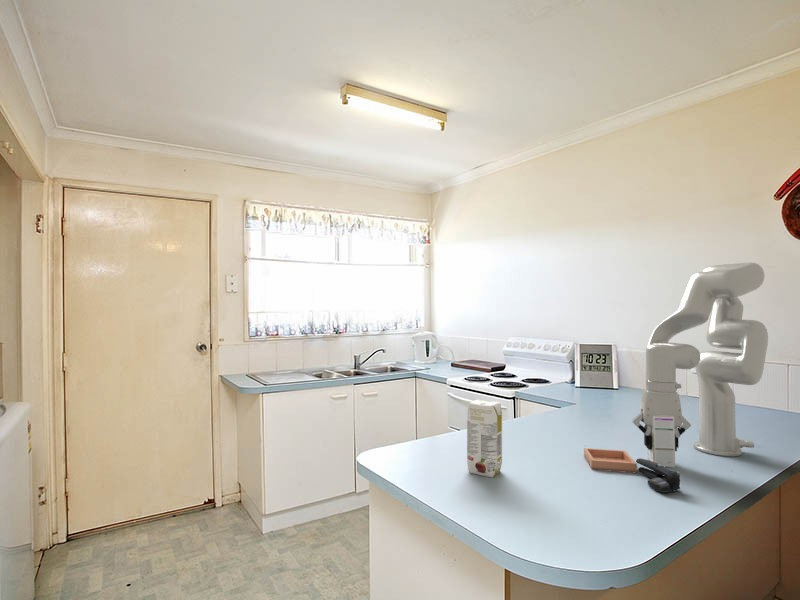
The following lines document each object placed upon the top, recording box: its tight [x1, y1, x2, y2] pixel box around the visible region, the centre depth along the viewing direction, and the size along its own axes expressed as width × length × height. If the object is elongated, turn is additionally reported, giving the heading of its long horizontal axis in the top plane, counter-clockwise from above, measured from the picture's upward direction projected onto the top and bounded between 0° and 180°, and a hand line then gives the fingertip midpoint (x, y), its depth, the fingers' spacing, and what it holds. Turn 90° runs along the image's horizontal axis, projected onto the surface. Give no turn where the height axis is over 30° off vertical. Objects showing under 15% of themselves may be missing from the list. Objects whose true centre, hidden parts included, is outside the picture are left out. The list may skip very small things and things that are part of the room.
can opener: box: [635, 458, 681, 493], centre depth 117 cm, size 18×7×6 cm, turn 176°
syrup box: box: [647, 415, 676, 468], centre depth 131 cm, size 6×6×14 cm
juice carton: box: [466, 399, 503, 478], centre depth 124 cm, size 8×9×19 cm
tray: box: [583, 447, 638, 473], centre depth 131 cm, size 12×12×2 cm
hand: (661, 448), depth 131 cm, fingers closed on syrup box, 5 cm apart
